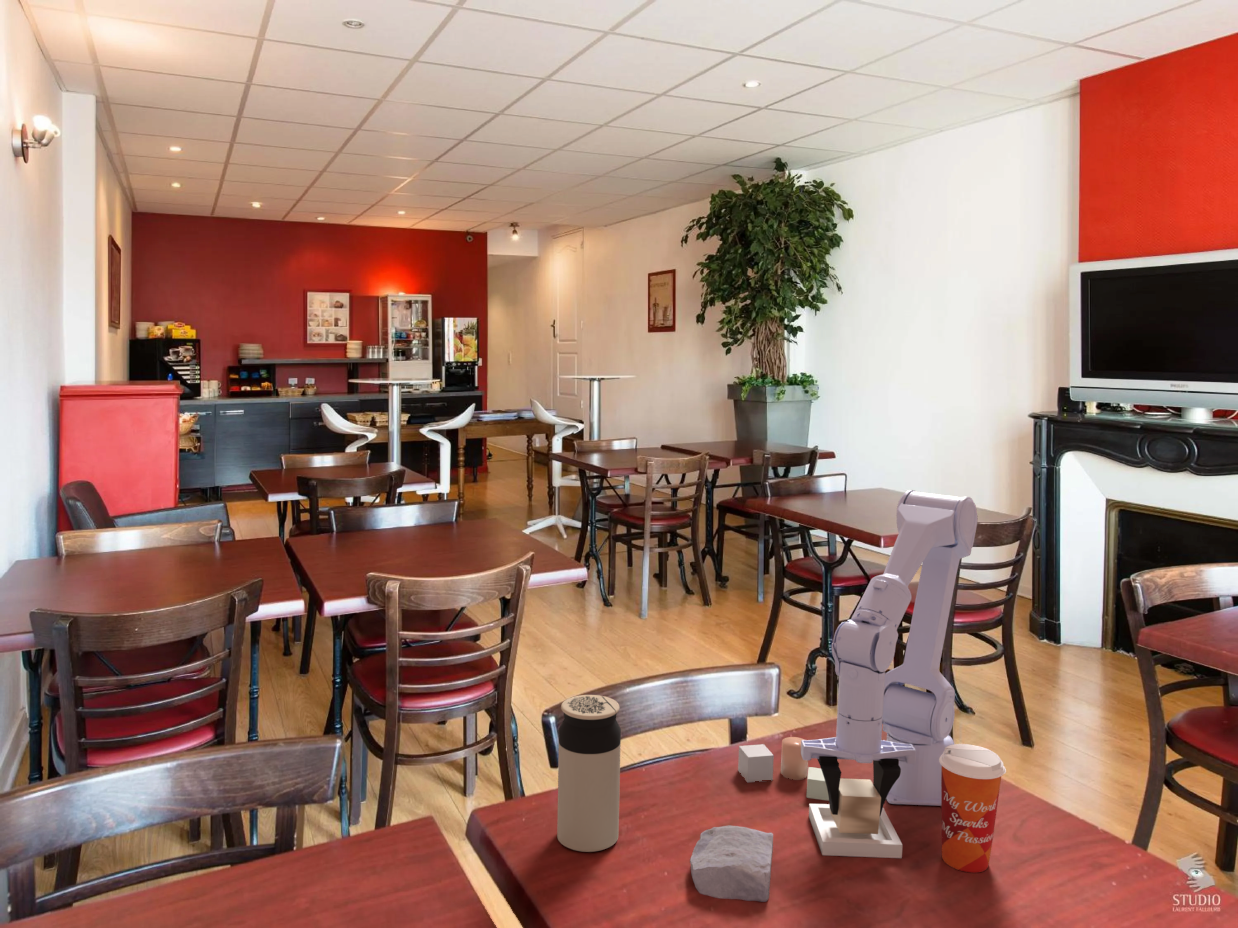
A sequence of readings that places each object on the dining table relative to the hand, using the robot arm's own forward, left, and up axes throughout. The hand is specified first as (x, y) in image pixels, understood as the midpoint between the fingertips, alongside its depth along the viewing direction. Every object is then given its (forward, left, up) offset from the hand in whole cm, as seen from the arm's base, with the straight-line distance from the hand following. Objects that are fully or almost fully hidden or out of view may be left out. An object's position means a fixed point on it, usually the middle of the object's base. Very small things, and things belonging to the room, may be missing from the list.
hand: (854, 811), depth 120 cm
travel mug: (+35, +3, -4) cm, 35 cm away
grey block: (+11, -17, -3) cm, 21 cm away
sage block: (+2, -12, -4) cm, 13 cm away
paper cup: (-13, +5, -4) cm, 14 cm away
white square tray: (0, 0, -3) cm, 3 cm away
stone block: (+17, +10, -4) cm, 20 cm away
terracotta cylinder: (+5, -18, -3) cm, 19 cm away
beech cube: (0, 0, -2) cm, 2 cm away
